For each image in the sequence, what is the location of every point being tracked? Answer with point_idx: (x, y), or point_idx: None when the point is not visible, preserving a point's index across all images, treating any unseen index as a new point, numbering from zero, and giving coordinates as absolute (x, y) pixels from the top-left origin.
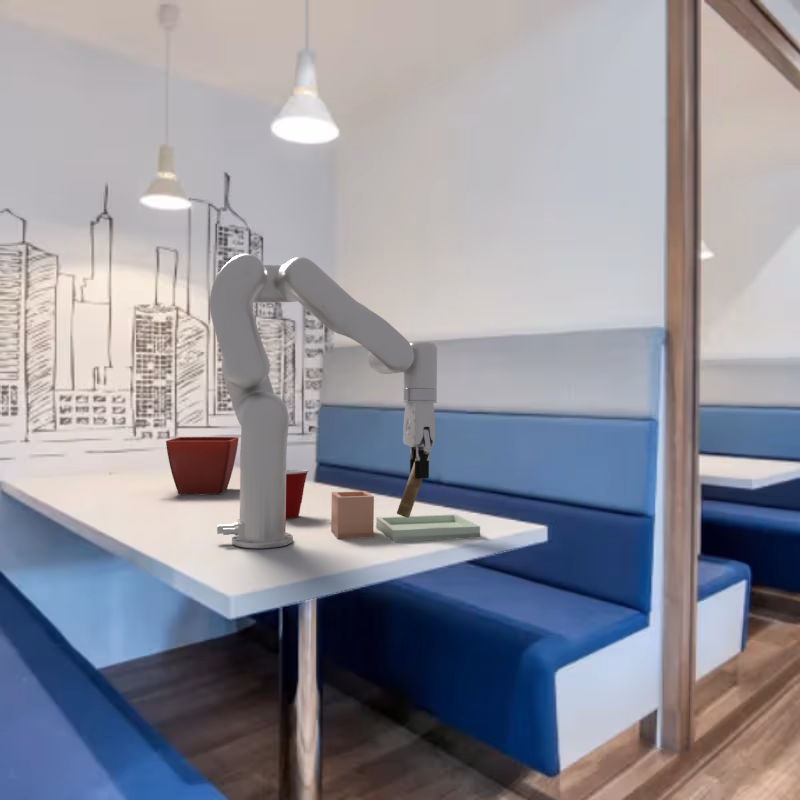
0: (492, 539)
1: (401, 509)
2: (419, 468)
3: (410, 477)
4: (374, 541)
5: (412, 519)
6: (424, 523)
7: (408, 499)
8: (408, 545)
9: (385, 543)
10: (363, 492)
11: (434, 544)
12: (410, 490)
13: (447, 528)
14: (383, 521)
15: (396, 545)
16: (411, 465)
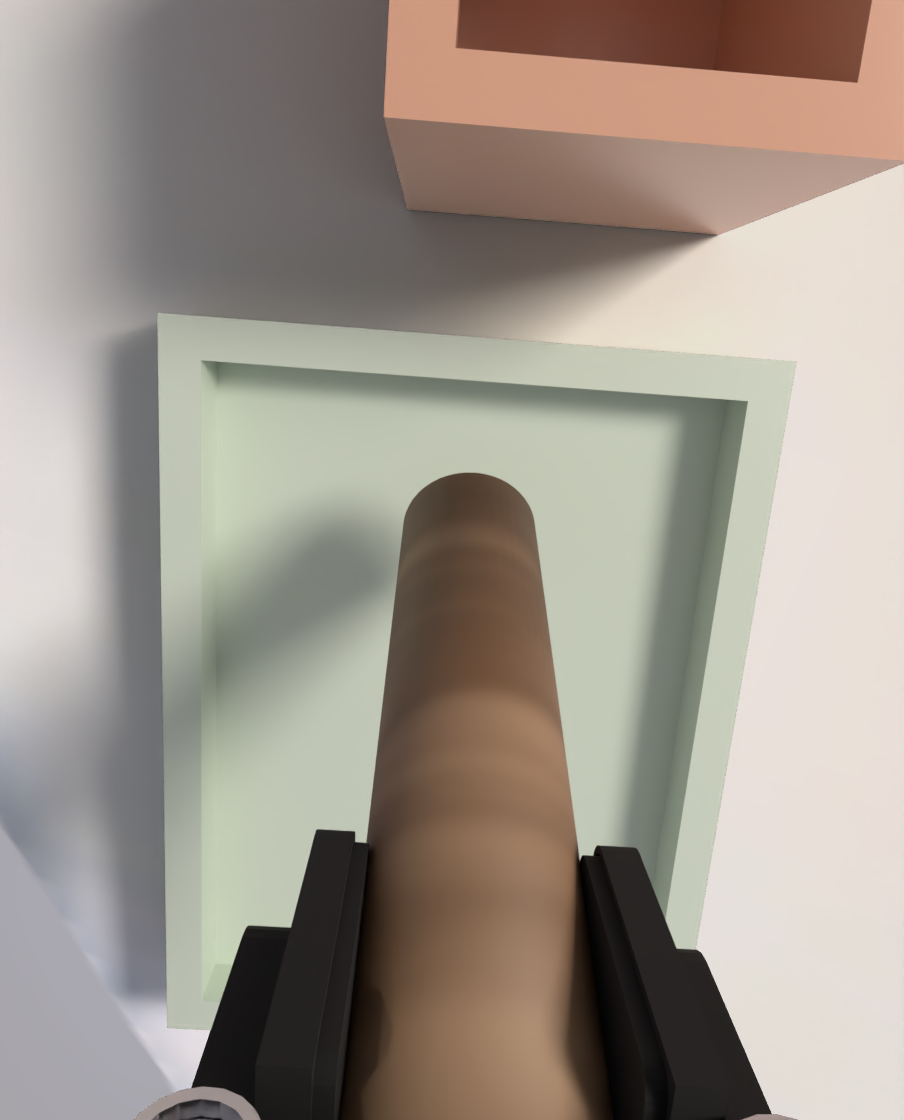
0: (128, 1016)
1: (423, 514)
2: (235, 995)
3: (440, 784)
4: (250, 167)
5: (692, 684)
6: (633, 756)
7: (394, 616)
8: (54, 399)
9: (158, 237)
10: (796, 78)
11: (52, 600)
12: (392, 682)
13: (165, 789)
14: (578, 361)
15: (71, 304)
16: (621, 982)
